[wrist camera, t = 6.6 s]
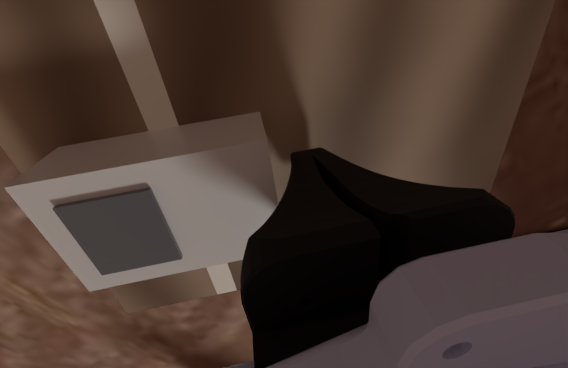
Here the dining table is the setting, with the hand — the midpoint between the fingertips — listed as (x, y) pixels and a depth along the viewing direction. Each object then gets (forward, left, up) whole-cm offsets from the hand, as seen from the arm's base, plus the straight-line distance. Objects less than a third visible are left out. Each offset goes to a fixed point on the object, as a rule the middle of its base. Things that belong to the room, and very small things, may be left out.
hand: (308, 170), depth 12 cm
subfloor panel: (0, 0, -2) cm, 2 cm away
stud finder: (+6, 0, -1) cm, 6 cm away
